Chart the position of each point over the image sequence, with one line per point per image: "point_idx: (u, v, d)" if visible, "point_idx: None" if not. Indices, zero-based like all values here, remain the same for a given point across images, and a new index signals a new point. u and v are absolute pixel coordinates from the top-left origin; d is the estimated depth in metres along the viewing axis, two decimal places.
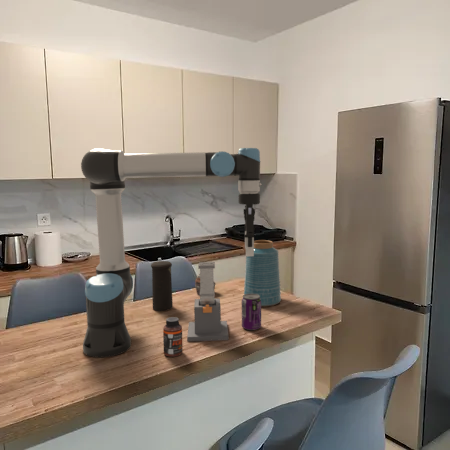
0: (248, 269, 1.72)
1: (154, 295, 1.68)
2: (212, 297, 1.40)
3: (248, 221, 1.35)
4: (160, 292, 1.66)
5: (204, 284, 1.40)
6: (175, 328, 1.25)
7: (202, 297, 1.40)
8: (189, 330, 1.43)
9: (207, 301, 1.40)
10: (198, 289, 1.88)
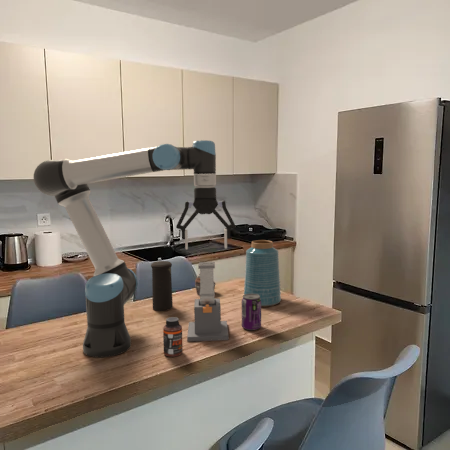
0: (248, 269, 1.72)
1: (154, 295, 1.68)
2: (212, 297, 1.40)
3: None
4: (160, 292, 1.66)
5: (204, 284, 1.40)
6: (175, 328, 1.25)
7: (202, 297, 1.40)
8: (189, 330, 1.43)
9: (207, 301, 1.40)
10: (198, 289, 1.88)
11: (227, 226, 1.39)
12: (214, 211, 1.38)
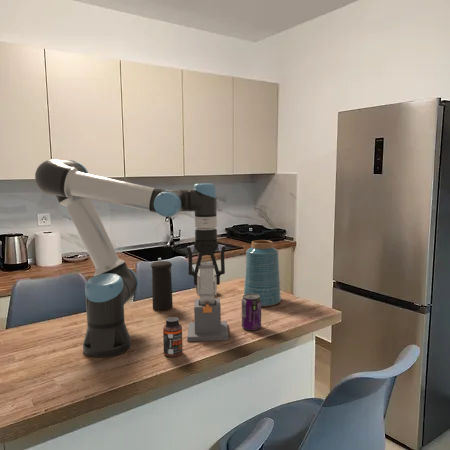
0: (248, 269, 1.72)
1: (154, 295, 1.68)
2: (212, 297, 1.40)
3: None
4: (160, 292, 1.66)
5: (204, 284, 1.40)
6: (175, 328, 1.25)
7: (202, 297, 1.40)
8: (189, 330, 1.43)
9: (207, 301, 1.40)
10: None
11: (217, 273, 1.40)
12: (212, 254, 1.39)
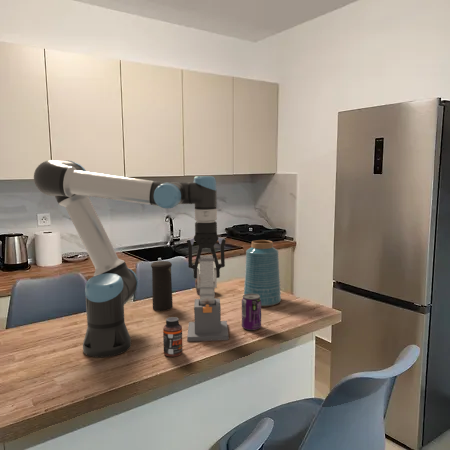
0: (248, 269, 1.72)
1: (154, 295, 1.68)
2: (212, 290, 1.40)
3: None
4: (160, 292, 1.66)
5: (204, 277, 1.39)
6: (175, 328, 1.25)
7: (202, 290, 1.40)
8: (189, 330, 1.43)
9: (207, 294, 1.40)
10: (198, 289, 1.88)
11: (217, 266, 1.40)
12: (211, 247, 1.39)
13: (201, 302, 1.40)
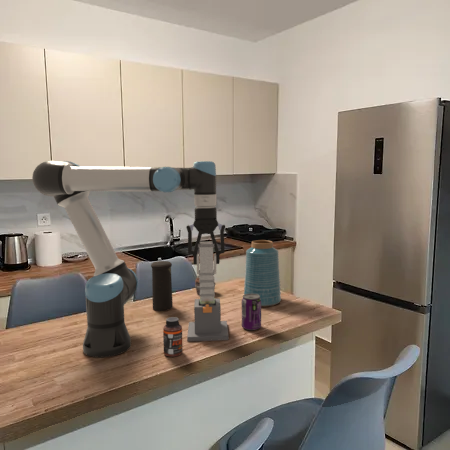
0: (248, 269, 1.72)
1: (154, 295, 1.68)
2: (212, 276, 1.39)
3: None
4: (160, 292, 1.66)
5: (204, 263, 1.39)
6: (175, 328, 1.25)
7: (202, 276, 1.39)
8: (189, 330, 1.43)
9: (207, 280, 1.39)
10: (198, 289, 1.88)
11: (217, 252, 1.40)
12: (211, 233, 1.38)
13: (201, 288, 1.40)
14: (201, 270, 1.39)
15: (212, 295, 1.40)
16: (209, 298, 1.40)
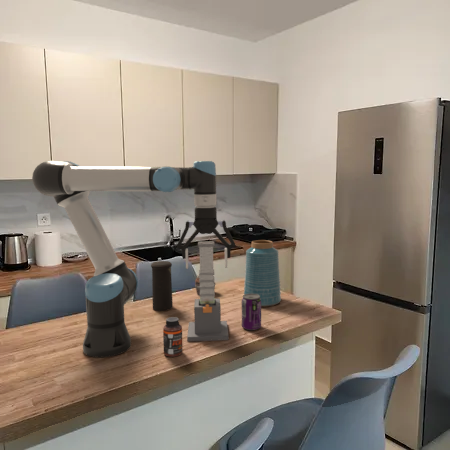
0: (248, 269, 1.72)
1: (154, 295, 1.68)
2: (212, 276, 1.39)
3: None
4: (160, 292, 1.66)
5: (204, 263, 1.39)
6: (175, 328, 1.25)
7: (202, 276, 1.39)
8: (189, 330, 1.43)
9: (207, 280, 1.39)
10: (198, 289, 1.88)
11: (227, 246, 1.39)
12: (214, 231, 1.38)
13: (201, 288, 1.40)
14: (201, 270, 1.39)
15: (212, 295, 1.40)
16: (209, 298, 1.40)
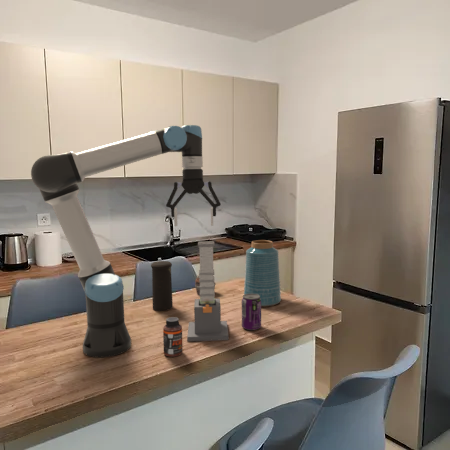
0: (248, 269, 1.72)
1: (154, 295, 1.68)
2: (212, 276, 1.39)
3: None
4: (160, 292, 1.66)
5: (204, 263, 1.39)
6: (175, 328, 1.25)
7: (202, 276, 1.39)
8: (189, 330, 1.43)
9: (207, 280, 1.39)
10: (198, 289, 1.88)
11: (213, 205, 1.50)
12: (200, 191, 1.49)
13: (201, 288, 1.40)
14: (201, 270, 1.39)
15: (212, 295, 1.40)
16: (209, 298, 1.40)
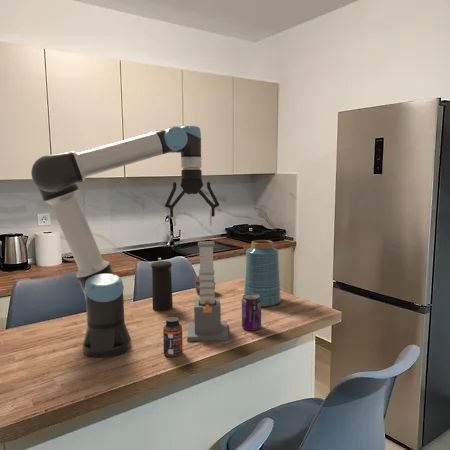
0: (248, 269, 1.72)
1: (154, 295, 1.68)
2: (212, 276, 1.39)
3: None
4: (160, 292, 1.66)
5: (204, 263, 1.39)
6: (175, 328, 1.25)
7: (202, 276, 1.39)
8: (189, 330, 1.43)
9: (207, 280, 1.39)
10: (198, 289, 1.88)
11: (212, 205, 1.51)
12: (199, 191, 1.50)
13: (201, 288, 1.40)
14: (201, 270, 1.39)
15: (212, 295, 1.40)
16: (209, 298, 1.40)
